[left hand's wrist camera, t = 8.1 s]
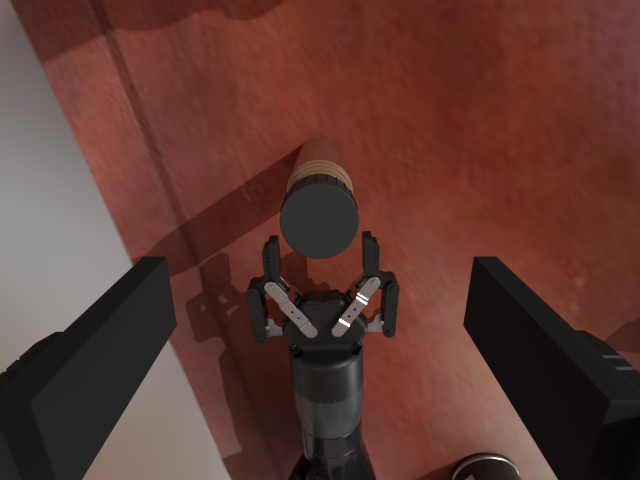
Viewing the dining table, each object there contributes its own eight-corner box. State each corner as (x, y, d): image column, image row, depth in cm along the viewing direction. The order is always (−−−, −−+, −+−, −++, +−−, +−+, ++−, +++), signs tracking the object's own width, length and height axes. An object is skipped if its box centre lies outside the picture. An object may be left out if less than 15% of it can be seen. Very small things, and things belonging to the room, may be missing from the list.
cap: (302, 252, 24) (300, 271, 22) (270, 191, 23) (264, 203, 20) (366, 225, 23) (372, 241, 21) (337, 160, 22) (339, 169, 20)
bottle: (308, 190, 40) (299, 271, 22) (289, 149, 39) (262, 200, 21) (349, 171, 40) (374, 239, 21) (330, 129, 38) (340, 163, 20)
